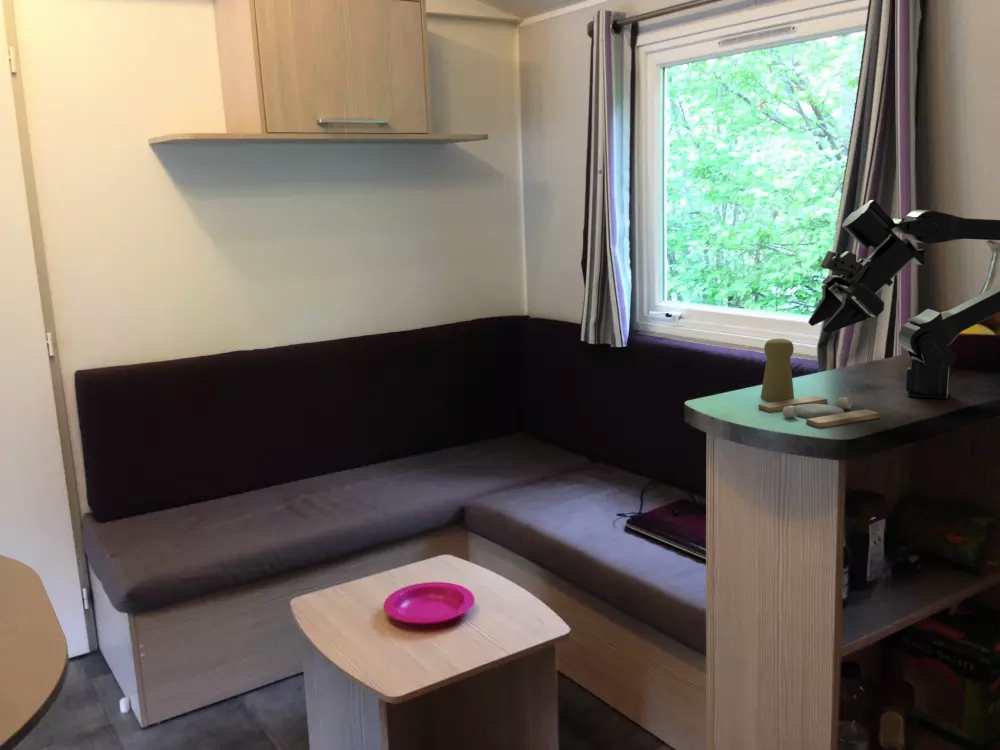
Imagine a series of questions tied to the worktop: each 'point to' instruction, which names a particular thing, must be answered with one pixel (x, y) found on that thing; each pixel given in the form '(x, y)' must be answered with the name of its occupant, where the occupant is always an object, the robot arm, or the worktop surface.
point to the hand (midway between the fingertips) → (816, 328)
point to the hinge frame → (819, 411)
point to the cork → (778, 371)
